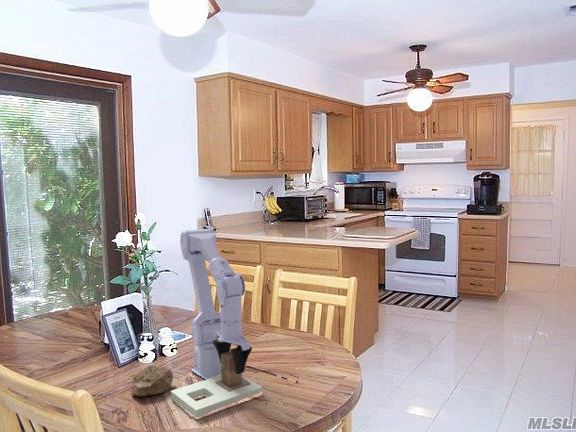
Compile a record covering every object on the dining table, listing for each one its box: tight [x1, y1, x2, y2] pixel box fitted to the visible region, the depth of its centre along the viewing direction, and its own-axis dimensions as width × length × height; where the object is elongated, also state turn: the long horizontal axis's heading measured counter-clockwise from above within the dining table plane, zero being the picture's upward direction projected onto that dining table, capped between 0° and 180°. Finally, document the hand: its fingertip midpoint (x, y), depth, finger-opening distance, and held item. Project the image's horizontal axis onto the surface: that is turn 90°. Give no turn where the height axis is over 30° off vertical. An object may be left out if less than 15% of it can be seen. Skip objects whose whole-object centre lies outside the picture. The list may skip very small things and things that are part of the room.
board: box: [170, 375, 264, 417], centre depth 128 cm, size 14×20×3 cm
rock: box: [130, 365, 174, 397], centre depth 134 cm, size 13×11×5 cm
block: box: [221, 351, 243, 387], centre depth 131 cm, size 4×4×8 cm
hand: (232, 368), depth 131 cm, fingers open, 7 cm apart
